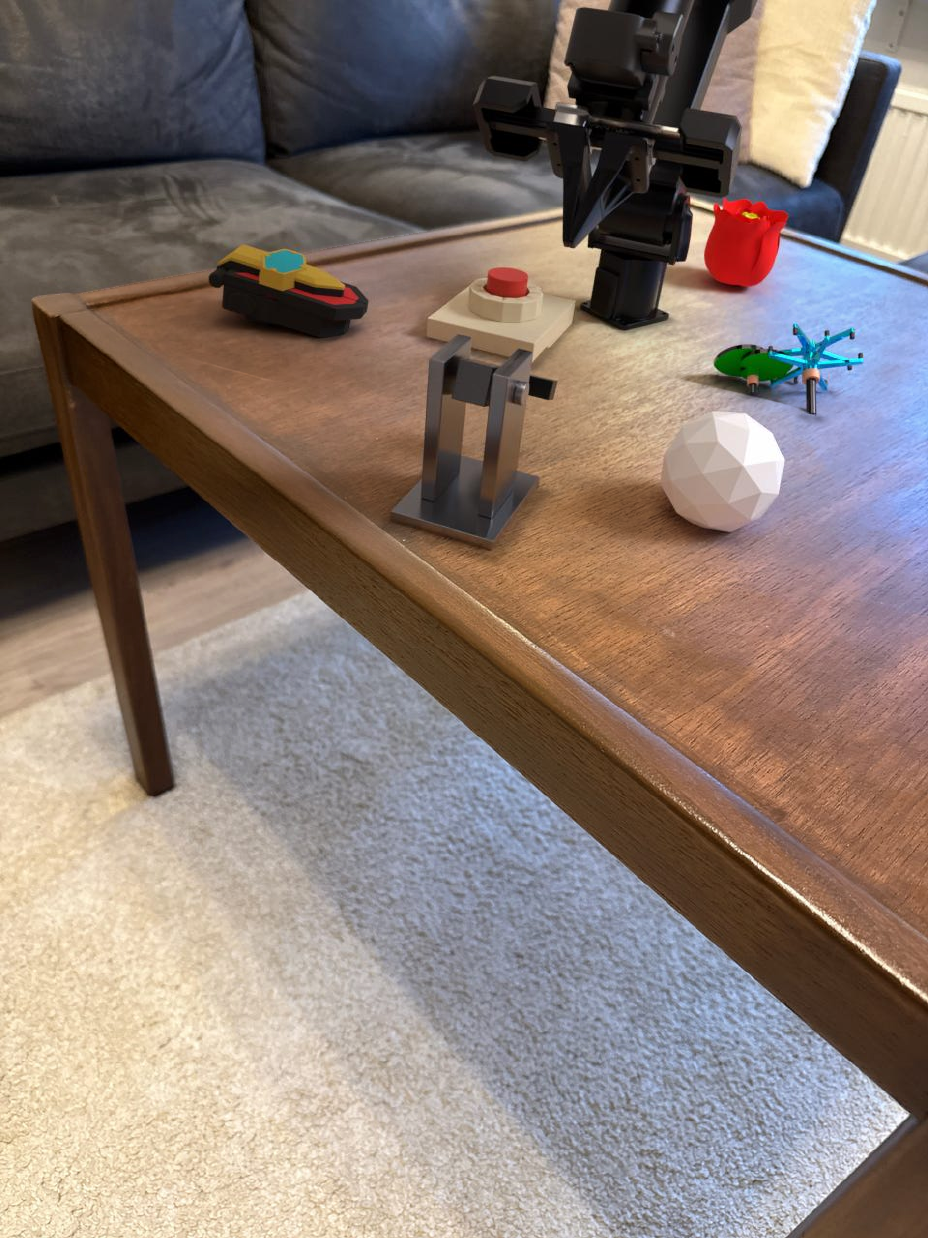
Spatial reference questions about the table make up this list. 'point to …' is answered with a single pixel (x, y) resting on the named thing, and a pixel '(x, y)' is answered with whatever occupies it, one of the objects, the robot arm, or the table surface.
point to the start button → (507, 282)
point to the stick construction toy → (786, 363)
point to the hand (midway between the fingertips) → (568, 244)
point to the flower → (743, 242)
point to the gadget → (286, 292)
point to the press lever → (478, 379)
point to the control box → (503, 319)
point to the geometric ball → (722, 470)
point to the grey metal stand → (465, 487)
